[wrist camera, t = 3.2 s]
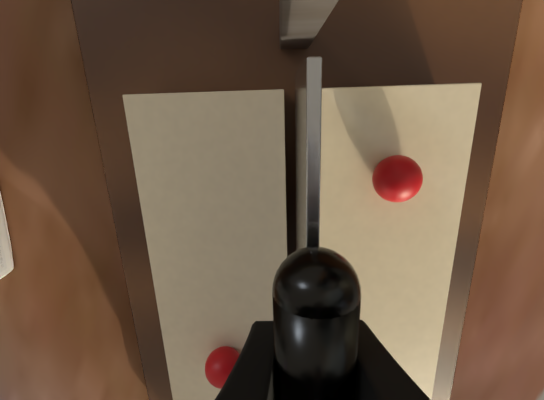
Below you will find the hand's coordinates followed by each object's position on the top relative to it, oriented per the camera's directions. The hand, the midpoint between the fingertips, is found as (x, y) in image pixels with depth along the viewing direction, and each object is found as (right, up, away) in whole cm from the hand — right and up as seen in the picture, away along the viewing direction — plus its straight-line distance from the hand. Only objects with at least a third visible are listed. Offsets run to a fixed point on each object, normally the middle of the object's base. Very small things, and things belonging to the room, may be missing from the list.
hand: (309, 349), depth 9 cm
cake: (0, +3, +8) cm, 8 cm away
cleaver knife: (0, +1, +4) cm, 4 cm away
